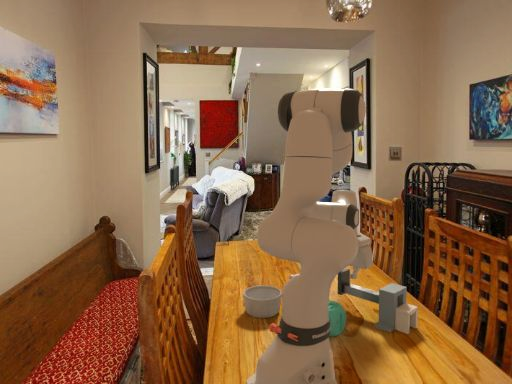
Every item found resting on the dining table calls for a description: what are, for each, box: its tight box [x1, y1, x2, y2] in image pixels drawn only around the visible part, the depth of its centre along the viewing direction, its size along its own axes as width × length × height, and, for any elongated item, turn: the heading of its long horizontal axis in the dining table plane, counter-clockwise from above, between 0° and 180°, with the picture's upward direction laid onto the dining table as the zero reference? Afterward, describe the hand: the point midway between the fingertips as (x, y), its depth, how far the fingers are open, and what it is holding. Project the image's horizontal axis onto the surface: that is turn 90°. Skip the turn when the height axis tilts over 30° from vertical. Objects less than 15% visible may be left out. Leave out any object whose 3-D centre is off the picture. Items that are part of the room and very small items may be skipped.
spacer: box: [394, 302, 419, 335], centre depth 115 cm, size 6×4×7 cm, turn 132°
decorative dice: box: [328, 300, 347, 338], centre depth 115 cm, size 8×8×8 cm
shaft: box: [337, 267, 379, 305], centre depth 125 cm, size 5×20×8 cm, turn 42°
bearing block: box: [374, 282, 408, 333], centre depth 119 cm, size 12×5×12 cm, turn 131°
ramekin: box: [242, 284, 282, 319], centre depth 130 cm, size 13×13×7 cm
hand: (343, 275), depth 132 cm, fingers open, 6 cm apart
